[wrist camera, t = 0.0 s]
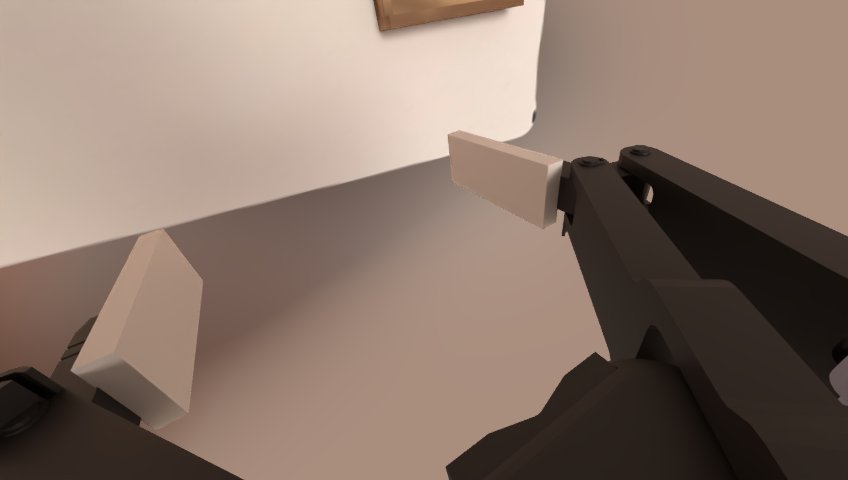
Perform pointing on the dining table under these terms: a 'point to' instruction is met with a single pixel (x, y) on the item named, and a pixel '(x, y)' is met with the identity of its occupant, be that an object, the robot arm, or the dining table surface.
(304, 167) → the dining table surface
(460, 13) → the frame
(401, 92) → the dining table surface
